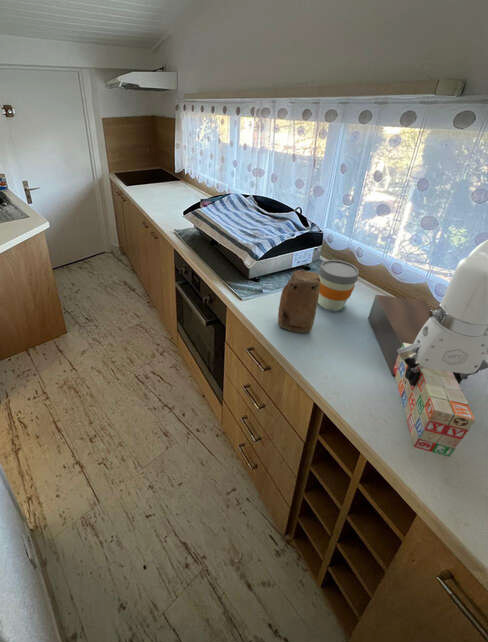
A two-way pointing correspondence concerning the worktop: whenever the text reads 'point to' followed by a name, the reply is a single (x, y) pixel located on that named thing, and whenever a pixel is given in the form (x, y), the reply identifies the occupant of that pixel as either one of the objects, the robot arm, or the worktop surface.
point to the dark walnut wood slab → (396, 323)
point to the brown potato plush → (299, 301)
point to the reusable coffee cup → (336, 283)
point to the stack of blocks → (433, 408)
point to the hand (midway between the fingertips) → (429, 383)
